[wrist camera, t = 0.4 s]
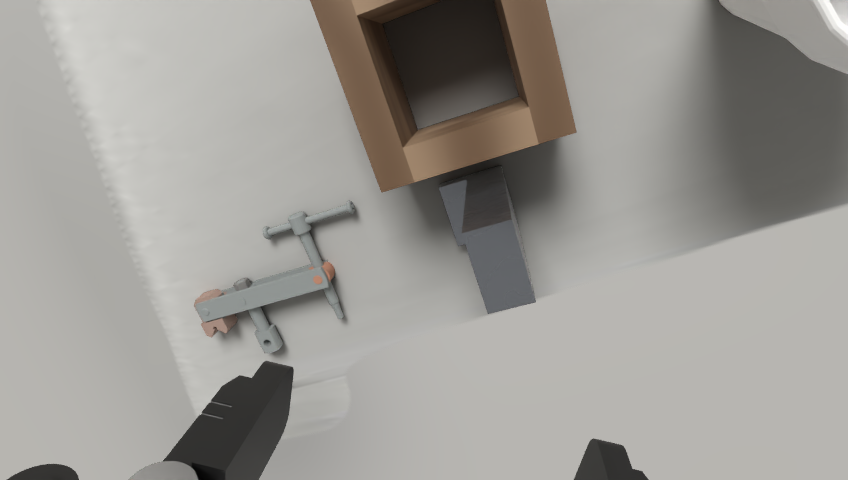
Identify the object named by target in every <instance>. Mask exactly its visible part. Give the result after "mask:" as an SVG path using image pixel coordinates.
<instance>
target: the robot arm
mask: <svg viewBox="0 0 848 480" xmlns="http://www.w3.org/2000/svg"><path fill="white" fill-rule="evenodd" d="M292 382H293V367H290V366H286V365H282V364H277V363H273V362H269V361H265V362H263V364H262V365H261V366H260V368H259V369H258V370H257V372H256V373H255V375H254V376H253V377H252V378H249V377H245V376H238V377H236V378H235V379H233V380H231V381H230V382H228V383H227V384H225V385H223V386H222V387H221V389H220V390H219V391H218V392H217V394H216V395H215V396H214V397H213V399H212V400H211V403H209V404H208V405H207V406H206V408H205V409H204V410H203V411H202V414H201V415H199V416H198V418H197V419H196V420H195V421H194V423H193V424H192V425H191V427H190V428H189V429H188V430H187V432H186V433H185V434H184V435H183V437H182V438H181V439H180V440H179V442H178V443H177V444H176V446H175V447H174V448H173V449H172V451H171V452H170V453H169V455H168V456H167V457H166V458H165V459H164V460H163V461H162V462H158V463H154V464H151V465H149V466H147V467H144V468H143V469H141V470H139V471H138V472H137V473H135V474H134V475H133V476H132V477H131V478H130V479H129V480H259V478H260V476H261V474H262V472H263V470H264V468H265V466H266V465H267V463H268V461H269V459H270V457H271V455H272V453H273V451H274V450H275V448H276V446H277V444H278V442H279V440H280V438H281V436H282V434H283V432H284V429H285V426H286V423H287V420H288V415H289V408H290V400H291V391H292ZM7 480H79V479H78V475H77V474H76V472H75V471H74V470H73V469H72V468H70V467H68V466H64V465H59V464H46V465H40V466H35V467H32V468H29V469H26V470H24V471H21V472H19V473H17V474H15V475H14V476H12V477H10V478H9V479H7ZM574 480H648V478H647V477H646V476H645V475H644V473H643V472H642V471H639V470H635V469H632V466H631V464H630V461H629V458H628V455H627V452H626V450H625V448H624V447H623V446H622V445H619V444H615V443H611V442H606V441H602V440H597V439H592V440H591V441H590V442H589V444H588V447H587V449H586V451H585V454H584V456H583V459H582V461H581V464H580V466H579V468H578V471H577V473H576V476H575V479H574Z"/></svg>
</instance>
